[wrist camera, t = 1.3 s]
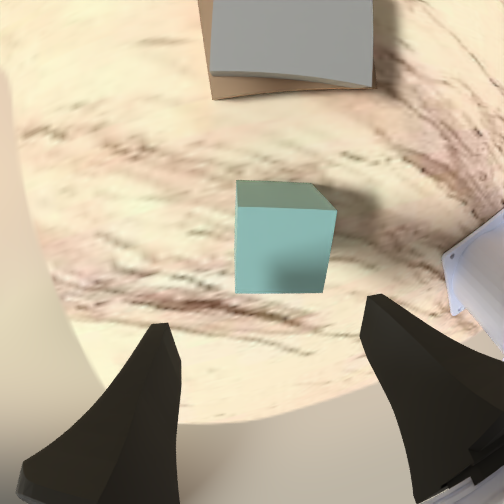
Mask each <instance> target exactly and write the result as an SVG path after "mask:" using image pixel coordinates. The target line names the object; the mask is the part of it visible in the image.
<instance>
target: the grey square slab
mask: <svg viewBox="0 0 504 504" xmlns="http://www.w3.org/2000/svg"><path fill="white" fill-rule="evenodd" d="M372 69H373V1H372V0H213V13H212V29H211V48H210V73H211V74H212V76H235V77H263V78H278V79H290V80H300V81H309V82H317V83H324V84H331V85H337V86H344V87H349V88H364V87H372Z"/></svg>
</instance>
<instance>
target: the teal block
mask: <svg viewBox="0 0 504 504" xmlns="http://www.w3.org/2000/svg"><path fill="white" fill-rule="evenodd" d="M336 215H337V210H336V209H335V208H334V207H333V206H332V204H331V203H330V202H329V201H328V200H327V199H326V198H325V197H324V196H323V195H322V194H321V193H320V192H319V191H318V190H317V189H316V188H315V187H314V186H313V185H312V184H311V183H296V182H276V181H249V180H236V208H235V248H234V250H235V293H323V288H324V283H325V278H326V273H327V268H328V262H329V257H330V251H331V246H332V240H333V234H334V228H335V222H336Z"/></svg>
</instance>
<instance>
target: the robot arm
mask: <svg viewBox="0 0 504 504" xmlns="http://www.w3.org/2000/svg"><path fill="white" fill-rule="evenodd" d="M442 265H443V270H444V275H445V281H446V286H447V292H448V298H449V305H450V312H451V314H452V316H455V315H457V314H458V313H460V312H461V311H463V310H464V309H465V308H466V309H467V310H468V311H469V313H470V314H471V315H472V316H473V317H474V318H475V320H476V321H477V322H478V323H479V324H480V326H481V327H482V328H483V329H484V330H485V332H486V333H487V334H488V335H489V337H490V338H491V339H492V340H493V342H494V343H495V344H496V345H497V347H498V348H499V349H500V351H501V352H502V353H503V354H504V208H503V209H502V210H501V211H500V212H498V213H497V214H496V215H495V216H493V217H492V218H491V219H490V220H488V221H487V222H486V223H485V224H483V225H482V226H481V227H479V228H478V229H477V230H476V231H474V232H473V233H472V234H470V235H469V236H468V237H466V238H465V239H464V240H462V241H461V242H460V243H458V244H457V245H455V246H454V247H453V248H451V249H450V250H448V251H447V252H446V253H444V254H443V256H442ZM360 339H361V342H362V345H363V348H364V351H365V353H366V356H367V358H368V360H369V362H370V364H371V366H372V368H373V370H374V372H375V374H376V376H377V378H378V380H379V382H380V384H381V386H382V388H383V390H384V392H385V393H386V396H387V398H388V400H389V402H390V404H391V406H392V409H393V411H394V414H395V416H396V419H397V422H398V426H399V428H400V432H401V435H402V439H403V442H404V446H405V449H406V454H407V458H408V463H409V467H410V473H411V480H412V486H413V496H414V498H415V501H416V503H417V504H419V503H421V502H423V501H425V500H427V499H429V498H431V497H433V496H435V495H437V494H439V493H440V492H442V491H444V490H446V489H448V488H449V490H447V491H445V492H443V493H441V494H439V495H437V496H435V497H434V498H432V499H430V500H428V501H426V502H424V503H422V504H504V358H503V360H502V361H501V360H497V359H495V358H492V357H489V356H487V355H484V354H482V353H479V352H477V351H475V350H472V349H470V348H468V347H466V346H464V345H462V344H460V343H458V342H456V341H454V340H453V339H451V338H449V337H447V336H446V335H444V334H442V333H441V332H439V331H437V330H436V329H434V328H433V327H431V326H429V325H428V324H426V323H425V322H423V321H422V320H420V319H419V318H417V317H416V316H414V315H413V314H411V313H410V312H409V311H407V310H406V309H404V308H403V307H401V306H400V305H398V304H397V303H395V302H394V301H392V300H391V299H389V298H388V297H386V296H385V295H383V294H377V295H371V296H367V301H366V306H365V311H364V317H363V321H362V326H361V331H360ZM180 395H181V359H180V357H179V354H178V351H177V348H176V345H175V342H174V339H173V336H172V333H171V330H170V327H169V324H168V323H159V324H151V326H150V327H149V329H148V330H147V332H146V333H145V335H144V336H143V338H142V339H141V341H140V343H139V344H138V346H137V347H136V349H135V350H134V352H133V353H132V355H131V356H130V358H129V359H128V361H127V362H126V364H125V365H124V367H123V368H122V369H121V371H120V372H119V374H118V375H117V376H116V378H115V379H114V380H113V382H112V383H111V384H110V386H109V387H108V388H107V389H106V391H105V392H104V393H103V394H102V396H101V397H100V398H99V399H98V400H97V401H96V403H95V404H94V405H93V406H92V407H91V408H90V409H89V410H88V411H87V412H86V413H85V414H84V415H83V416H82V417H81V418H80V419H79V420H78V421H77V422H76V423H75V424H74V425H73V426H72V427H71V428H70V429H69V430H67V431H66V432H65V433H64V434H63V435H61V436H60V437H59V438H57V439H56V440H55V441H54V442H52V443H51V444H50V445H48V446H47V447H45V448H44V449H42V450H41V451H39V452H38V453H36V454H35V455H33V456H31V457H30V458H28V459H27V460H25V461H24V462H23V464H22V468H21V472H20V477H19V480H18V485H17V490H16V494H17V496H18V497H19V498H20V499H22V500H23V501H25V502H27V503H28V504H180V501H179V492H178V481H177V467H176V434H177V423H178V414H179V404H180Z"/></svg>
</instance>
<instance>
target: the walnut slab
mask: <svg viewBox="0 0 504 504" xmlns="http://www.w3.org/2000/svg"><path fill="white" fill-rule="evenodd" d="M198 7H199V14H200V21H201V28H202V34H203V41H204V48H205V55H206V61H207V68H208V75H209V81H210V88H211V94H212V100H219V99H226V98H232V97H239V96H247V95H255V94H264V93H274V92H285V91H299V90H319V89H377V84H376V75H375V67H374V60H373V69H372V87H364V88H349V87H344V86H337V85H331V84H324V83H317V82H309V81H300V80H290V79H278V78H263V77H235V76H212V74H211V73H210V48H211V29H212V13H213V0H198Z"/></svg>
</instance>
